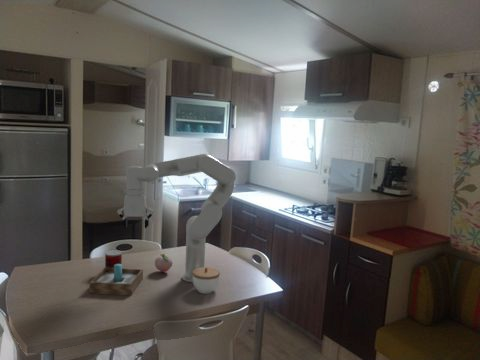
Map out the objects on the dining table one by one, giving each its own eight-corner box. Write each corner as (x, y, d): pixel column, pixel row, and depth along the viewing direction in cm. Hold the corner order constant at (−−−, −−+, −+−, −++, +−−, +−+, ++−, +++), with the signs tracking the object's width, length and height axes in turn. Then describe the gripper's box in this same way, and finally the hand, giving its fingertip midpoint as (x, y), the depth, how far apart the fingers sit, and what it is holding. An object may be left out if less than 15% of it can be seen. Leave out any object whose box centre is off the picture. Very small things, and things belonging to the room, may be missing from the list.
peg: (120, 287, 179) (120, 266, 178) (112, 287, 179) (112, 266, 178) (122, 284, 183) (123, 264, 182) (115, 284, 183) (115, 263, 182)
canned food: (123, 271, 199) (124, 250, 198) (117, 277, 191) (117, 255, 190) (109, 270, 200) (109, 249, 198) (102, 275, 192) (102, 254, 191)
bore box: (142, 279, 190) (143, 269, 190) (131, 295, 172) (131, 284, 171) (105, 277, 190) (105, 267, 190) (89, 293, 172) (89, 282, 171)
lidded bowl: (186, 288, 182) (187, 266, 180) (208, 282, 190) (209, 261, 188) (201, 298, 172) (202, 274, 171) (224, 292, 180) (225, 269, 179)
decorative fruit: (151, 271, 201) (151, 252, 200) (165, 268, 206) (165, 250, 205) (160, 277, 194) (161, 257, 193) (174, 273, 199) (175, 254, 198)
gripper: (114, 193, 179) (115, 229, 182) (151, 193, 180) (152, 229, 182) (119, 190, 187) (120, 225, 189) (155, 191, 187) (155, 225, 190)
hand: (136, 227), depth 186 cm, fingers open, 9 cm apart
